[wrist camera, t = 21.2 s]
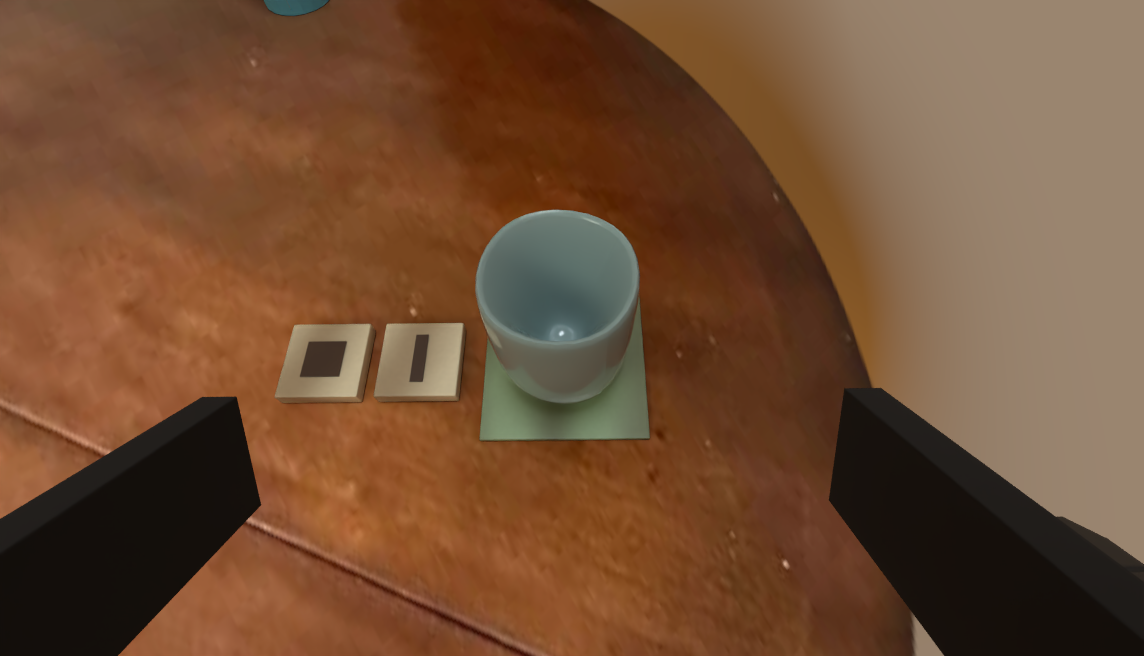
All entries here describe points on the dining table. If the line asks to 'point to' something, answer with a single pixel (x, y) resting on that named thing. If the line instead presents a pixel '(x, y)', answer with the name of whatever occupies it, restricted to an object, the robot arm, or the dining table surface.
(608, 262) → the cup
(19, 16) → the dining table surface
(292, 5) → the cup
